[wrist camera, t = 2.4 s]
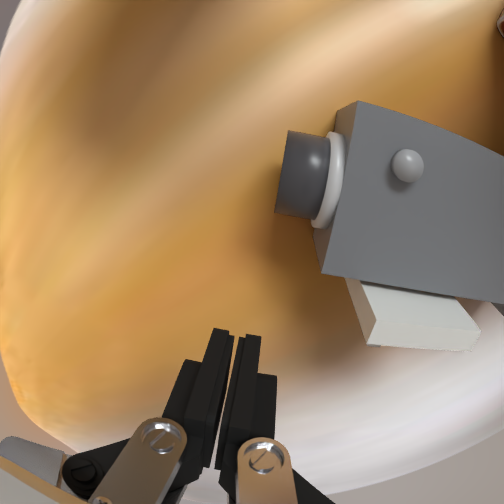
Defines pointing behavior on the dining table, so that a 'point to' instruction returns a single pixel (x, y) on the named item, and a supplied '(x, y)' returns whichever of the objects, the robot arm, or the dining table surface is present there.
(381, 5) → the dining table surface
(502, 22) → the dark red boxy piece
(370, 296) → the off-white foam block
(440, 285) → the housing
